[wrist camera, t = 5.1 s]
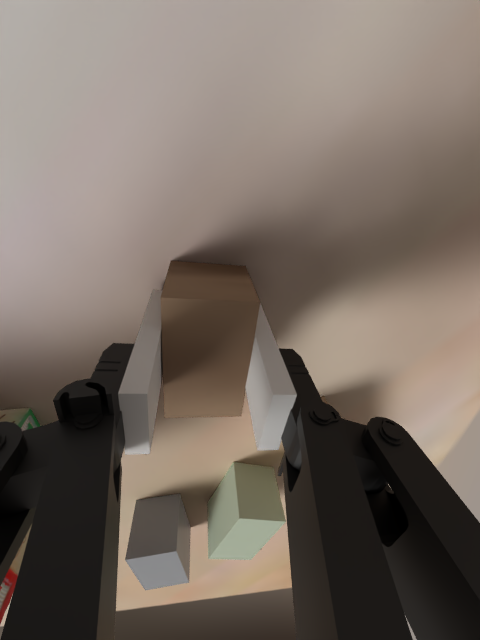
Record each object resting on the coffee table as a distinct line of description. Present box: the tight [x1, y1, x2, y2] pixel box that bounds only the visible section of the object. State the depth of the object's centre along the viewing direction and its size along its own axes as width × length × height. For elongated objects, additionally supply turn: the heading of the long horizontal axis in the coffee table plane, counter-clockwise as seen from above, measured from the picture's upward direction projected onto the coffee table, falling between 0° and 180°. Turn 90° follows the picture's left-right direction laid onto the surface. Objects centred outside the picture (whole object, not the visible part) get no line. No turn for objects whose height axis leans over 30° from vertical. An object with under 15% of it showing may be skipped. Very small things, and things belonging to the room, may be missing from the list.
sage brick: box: [207, 462, 286, 560], centre depth 21 cm, size 6×4×4 cm, turn 157°
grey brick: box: [125, 494, 191, 590], centre depth 22 cm, size 6×4×4 cm, turn 3°
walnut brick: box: [160, 261, 260, 418], centre depth 13 cm, size 6×4×4 cm, turn 173°
